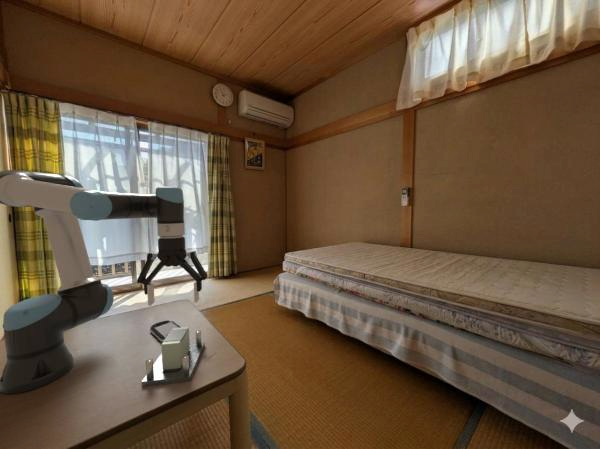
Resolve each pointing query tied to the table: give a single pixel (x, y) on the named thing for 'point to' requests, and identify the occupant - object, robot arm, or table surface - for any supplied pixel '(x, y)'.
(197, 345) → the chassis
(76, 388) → the table surface
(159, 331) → the gaming console
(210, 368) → the table surface
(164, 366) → the pale green block
